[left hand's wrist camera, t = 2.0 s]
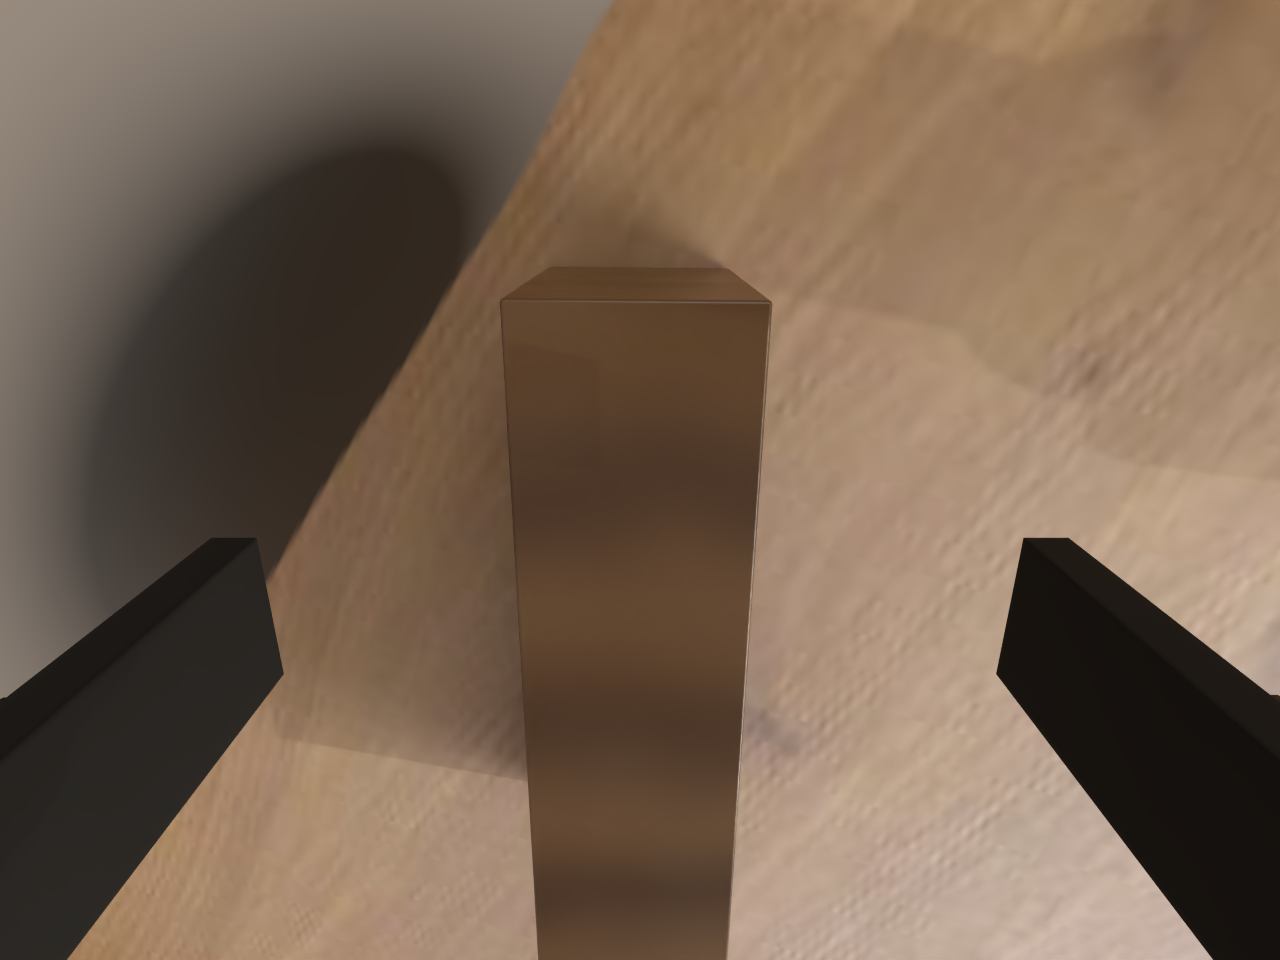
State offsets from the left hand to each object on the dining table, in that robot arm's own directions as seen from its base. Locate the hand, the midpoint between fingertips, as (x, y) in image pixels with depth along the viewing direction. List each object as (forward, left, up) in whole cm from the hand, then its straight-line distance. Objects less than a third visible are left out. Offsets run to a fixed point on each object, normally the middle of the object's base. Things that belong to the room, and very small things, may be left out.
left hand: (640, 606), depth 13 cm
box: (+5, +5, -15) cm, 17 cm away
